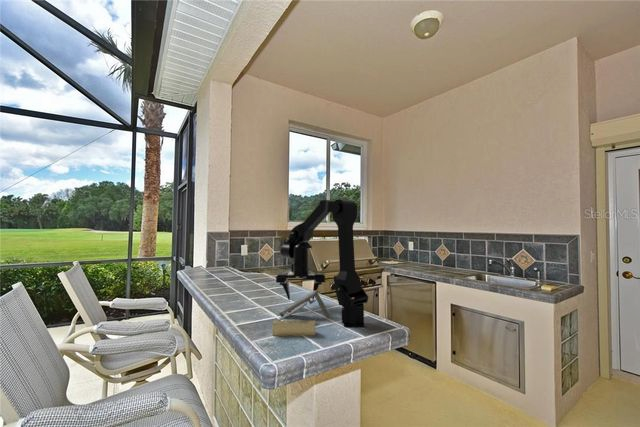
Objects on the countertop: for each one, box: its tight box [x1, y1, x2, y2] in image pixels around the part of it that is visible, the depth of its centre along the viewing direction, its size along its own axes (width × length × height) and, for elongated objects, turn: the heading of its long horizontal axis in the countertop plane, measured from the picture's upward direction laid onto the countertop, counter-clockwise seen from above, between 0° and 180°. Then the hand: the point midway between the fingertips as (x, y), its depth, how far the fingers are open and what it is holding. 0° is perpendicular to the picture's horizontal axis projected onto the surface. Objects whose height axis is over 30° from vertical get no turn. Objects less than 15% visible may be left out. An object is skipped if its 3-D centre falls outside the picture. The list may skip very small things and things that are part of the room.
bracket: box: [277, 290, 331, 321], centre depth 95 cm, size 10×14×10 cm
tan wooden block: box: [272, 320, 316, 337], centre depth 82 cm, size 12×3×4 cm, turn 90°
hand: (301, 300), depth 109 cm, fingers open, 9 cm apart
